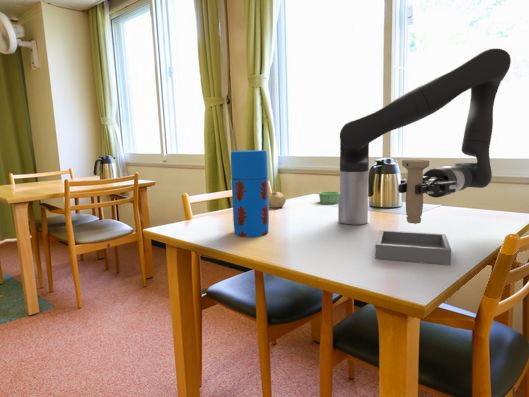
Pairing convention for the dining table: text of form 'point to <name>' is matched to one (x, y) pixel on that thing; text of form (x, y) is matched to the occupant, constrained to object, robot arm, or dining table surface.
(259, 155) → the thermos
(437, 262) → the tray
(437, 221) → the dining table surface
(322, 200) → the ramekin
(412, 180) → the handle
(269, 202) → the onion
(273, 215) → the dining table surface
